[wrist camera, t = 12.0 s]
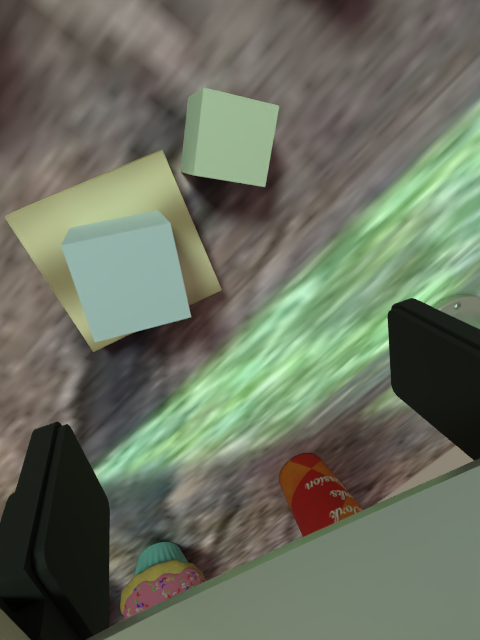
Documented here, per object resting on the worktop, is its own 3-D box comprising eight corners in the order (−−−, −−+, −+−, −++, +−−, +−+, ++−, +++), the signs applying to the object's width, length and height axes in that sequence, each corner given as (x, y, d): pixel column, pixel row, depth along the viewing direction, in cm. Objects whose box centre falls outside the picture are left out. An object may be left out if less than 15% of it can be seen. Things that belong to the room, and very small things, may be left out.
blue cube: (176, 289, 30) (191, 317, 25) (96, 308, 29) (94, 342, 24) (157, 210, 28) (170, 222, 22) (69, 227, 26) (60, 245, 21)
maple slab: (212, 279, 34) (221, 290, 31) (94, 336, 33) (93, 351, 30) (157, 150, 29) (162, 150, 26) (14, 211, 28) (4, 217, 25)
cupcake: (178, 516, 42) (202, 636, 32) (208, 558, 46) (239, 677, 36) (104, 557, 41) (104, 695, 31) (141, 596, 45) (153, 730, 35)
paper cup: (342, 460, 47) (426, 568, 35) (300, 506, 48) (367, 627, 36) (300, 434, 43) (378, 545, 31) (256, 484, 44) (314, 611, 32)
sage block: (242, 182, 31) (265, 187, 27) (180, 171, 30) (193, 175, 25) (253, 112, 30) (279, 105, 25) (188, 97, 28) (203, 87, 24)
